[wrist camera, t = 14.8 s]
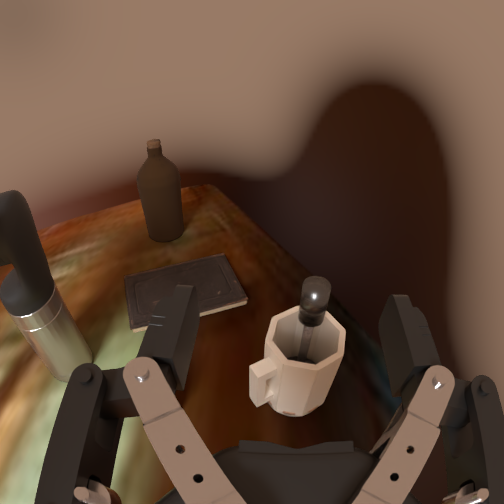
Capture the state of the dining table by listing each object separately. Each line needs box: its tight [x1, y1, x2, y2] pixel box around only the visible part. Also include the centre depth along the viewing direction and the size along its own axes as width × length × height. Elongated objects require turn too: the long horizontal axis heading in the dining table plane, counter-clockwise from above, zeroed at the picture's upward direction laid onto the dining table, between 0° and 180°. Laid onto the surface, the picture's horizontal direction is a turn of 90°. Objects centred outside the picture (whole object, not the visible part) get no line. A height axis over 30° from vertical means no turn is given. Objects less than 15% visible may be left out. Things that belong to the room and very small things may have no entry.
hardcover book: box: [124, 253, 248, 333], centre depth 64 cm, size 16×23×2 cm
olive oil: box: [137, 139, 184, 242], centre depth 74 cm, size 11×11×25 cm
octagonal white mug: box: [249, 306, 346, 417], centre depth 42 cm, size 10×12×14 cm
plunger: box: [287, 276, 331, 365], centre depth 38 cm, size 7×7×19 cm
